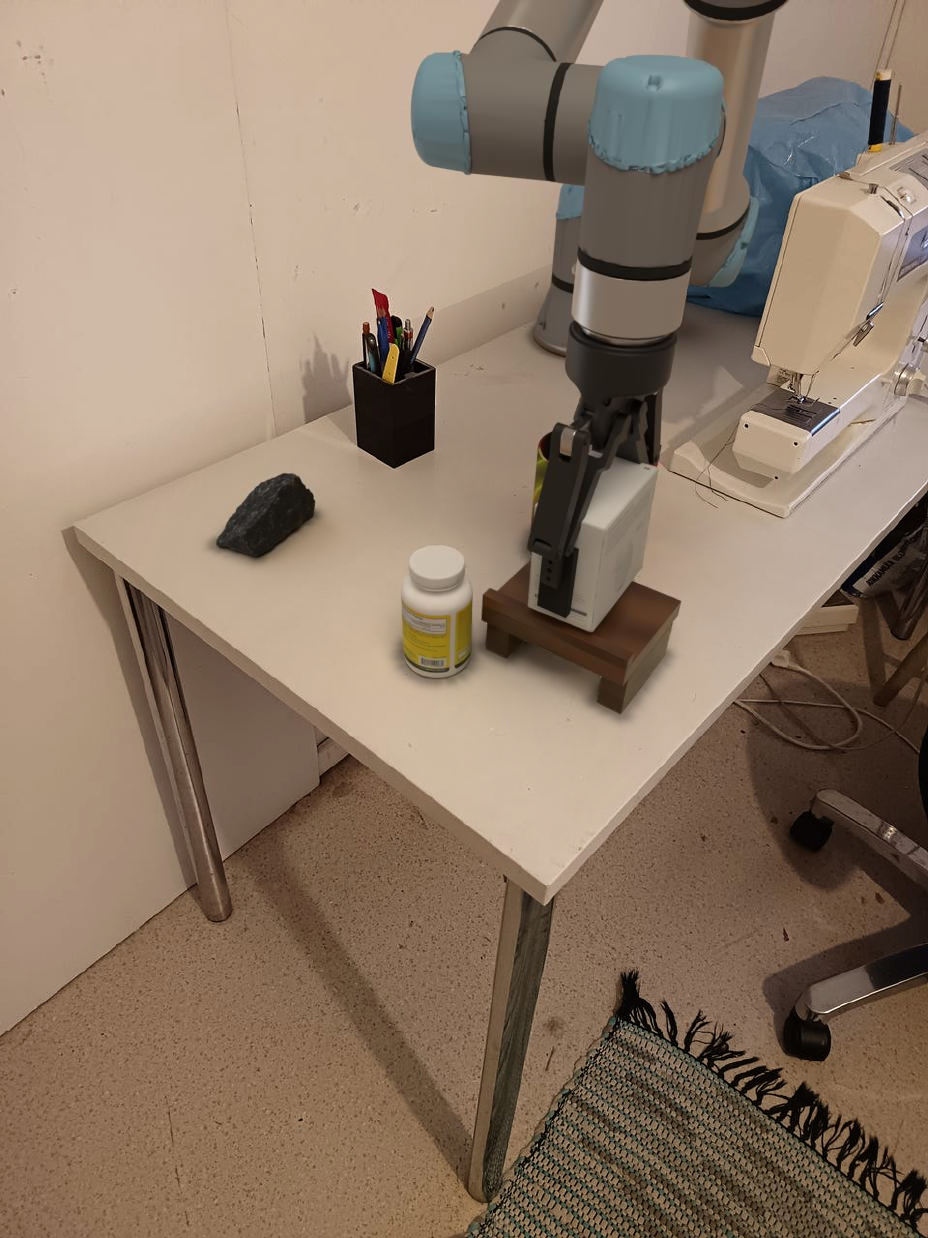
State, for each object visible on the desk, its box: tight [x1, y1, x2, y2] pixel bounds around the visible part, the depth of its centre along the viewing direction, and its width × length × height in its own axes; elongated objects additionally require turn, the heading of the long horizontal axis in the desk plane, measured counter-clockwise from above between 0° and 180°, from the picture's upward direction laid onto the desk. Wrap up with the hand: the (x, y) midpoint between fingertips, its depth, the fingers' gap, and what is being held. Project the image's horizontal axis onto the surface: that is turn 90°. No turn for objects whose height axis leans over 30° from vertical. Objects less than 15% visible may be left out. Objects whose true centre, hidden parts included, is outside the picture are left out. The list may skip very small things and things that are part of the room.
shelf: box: [480, 559, 682, 715], centre depth 79 cm, size 11×14×7 cm
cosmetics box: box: [528, 450, 659, 632], centre depth 72 cm, size 10×6×10 cm, turn 148°
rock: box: [215, 472, 316, 557], centre depth 92 cm, size 7×10×6 cm
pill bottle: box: [400, 544, 474, 679], centre depth 76 cm, size 6×6×11 cm
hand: (586, 575), depth 75 cm, fingers closed on cosmetics box, 11 cm apart
